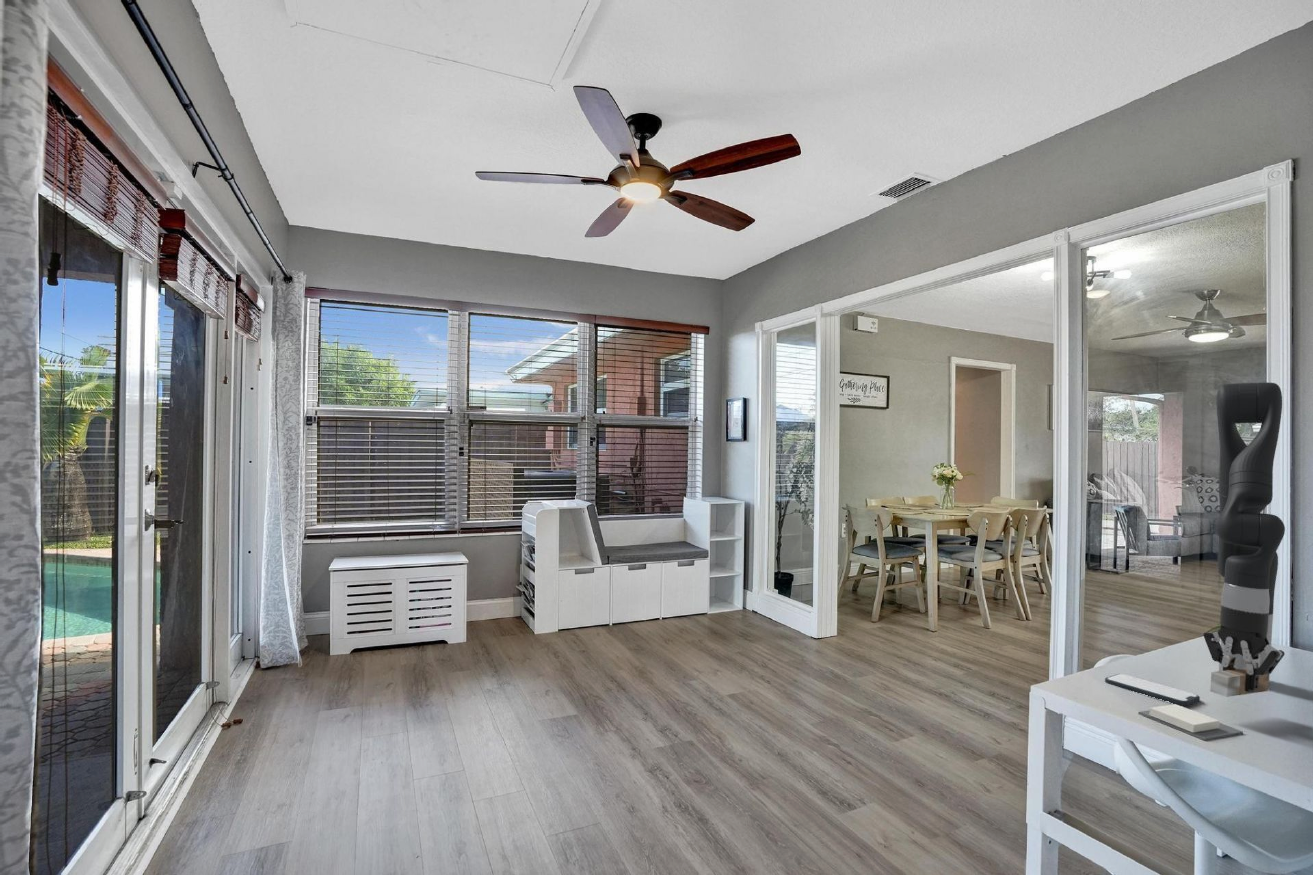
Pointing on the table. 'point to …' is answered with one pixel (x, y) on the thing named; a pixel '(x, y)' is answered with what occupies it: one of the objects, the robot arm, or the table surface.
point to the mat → (1204, 735)
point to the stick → (1235, 682)
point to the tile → (1184, 718)
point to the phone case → (1153, 690)
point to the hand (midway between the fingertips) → (1239, 687)
